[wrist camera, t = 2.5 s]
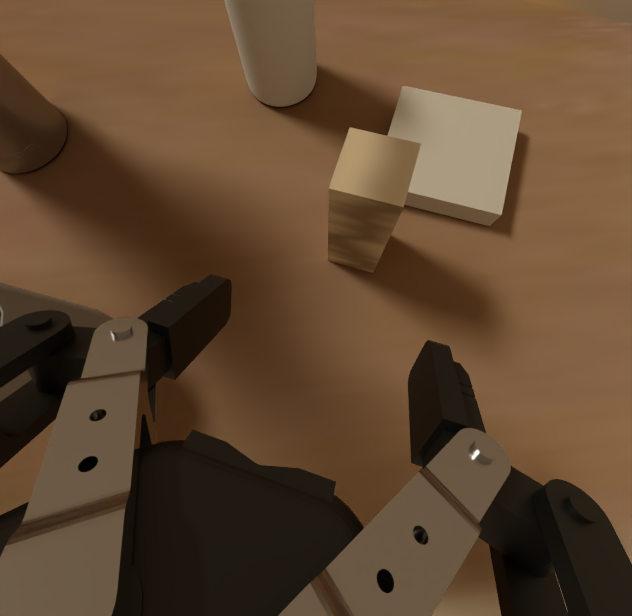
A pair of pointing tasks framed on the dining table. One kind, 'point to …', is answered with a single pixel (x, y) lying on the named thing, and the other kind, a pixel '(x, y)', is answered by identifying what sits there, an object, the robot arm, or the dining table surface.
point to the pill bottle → (276, 47)
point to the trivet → (457, 153)
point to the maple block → (367, 196)
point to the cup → (14, 302)
